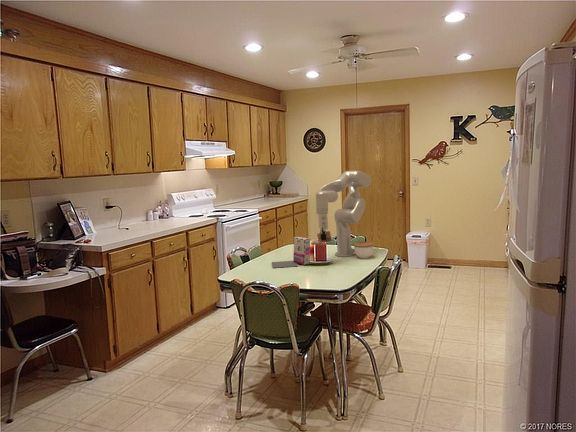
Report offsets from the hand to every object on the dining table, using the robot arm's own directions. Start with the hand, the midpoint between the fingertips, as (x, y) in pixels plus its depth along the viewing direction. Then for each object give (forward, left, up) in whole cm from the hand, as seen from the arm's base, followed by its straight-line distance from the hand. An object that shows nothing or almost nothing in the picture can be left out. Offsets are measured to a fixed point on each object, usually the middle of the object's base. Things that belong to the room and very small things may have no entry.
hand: (323, 239), depth 286 cm
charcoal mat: (+26, 0, -15) cm, 30 cm away
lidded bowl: (-27, -6, -15) cm, 32 cm away
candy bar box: (+15, 0, -15) cm, 21 cm away
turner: (+1, 0, -2) cm, 2 cm away
